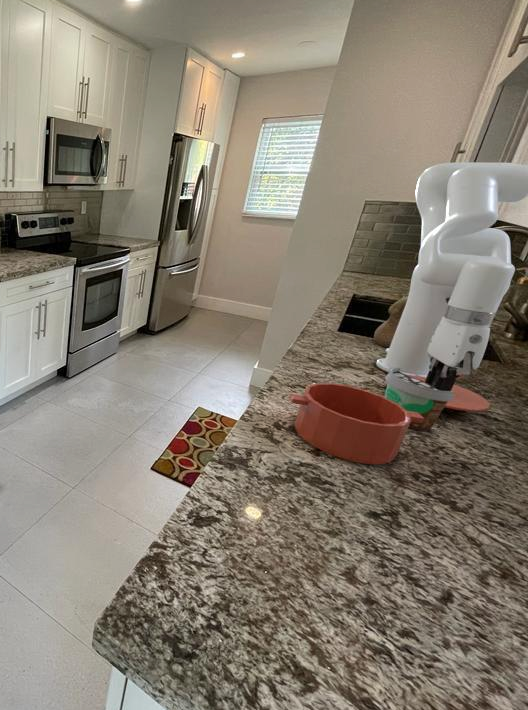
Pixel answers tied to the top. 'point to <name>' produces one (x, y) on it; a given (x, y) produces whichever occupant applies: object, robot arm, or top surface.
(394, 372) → the food container
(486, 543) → the top surface
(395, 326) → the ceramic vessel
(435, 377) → the lid
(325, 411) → the pot
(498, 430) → the top surface
